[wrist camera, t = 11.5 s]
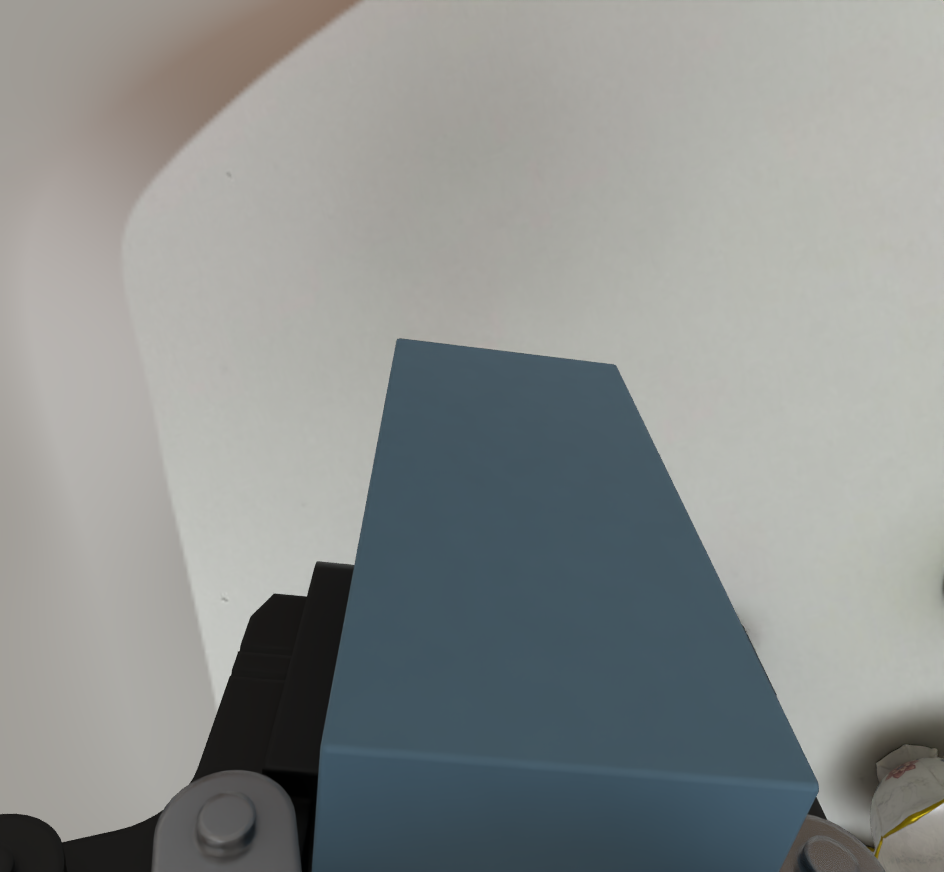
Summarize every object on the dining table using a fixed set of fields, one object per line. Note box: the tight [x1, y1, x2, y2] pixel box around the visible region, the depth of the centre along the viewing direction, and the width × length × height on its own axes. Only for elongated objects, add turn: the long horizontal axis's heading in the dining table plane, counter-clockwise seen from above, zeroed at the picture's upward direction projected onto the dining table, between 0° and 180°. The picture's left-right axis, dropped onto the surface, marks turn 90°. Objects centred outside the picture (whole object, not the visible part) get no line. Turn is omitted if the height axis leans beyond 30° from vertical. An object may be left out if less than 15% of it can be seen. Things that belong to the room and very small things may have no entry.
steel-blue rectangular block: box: [312, 338, 819, 872], centre depth 11 cm, size 4×6×9 cm
